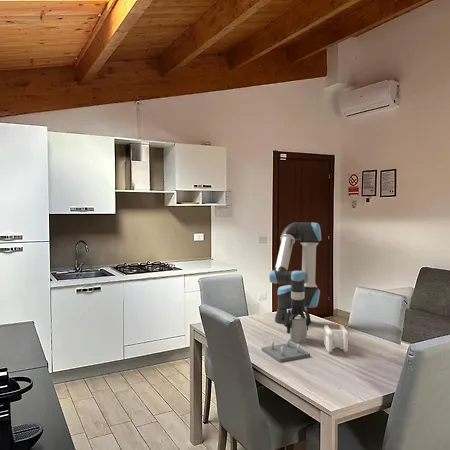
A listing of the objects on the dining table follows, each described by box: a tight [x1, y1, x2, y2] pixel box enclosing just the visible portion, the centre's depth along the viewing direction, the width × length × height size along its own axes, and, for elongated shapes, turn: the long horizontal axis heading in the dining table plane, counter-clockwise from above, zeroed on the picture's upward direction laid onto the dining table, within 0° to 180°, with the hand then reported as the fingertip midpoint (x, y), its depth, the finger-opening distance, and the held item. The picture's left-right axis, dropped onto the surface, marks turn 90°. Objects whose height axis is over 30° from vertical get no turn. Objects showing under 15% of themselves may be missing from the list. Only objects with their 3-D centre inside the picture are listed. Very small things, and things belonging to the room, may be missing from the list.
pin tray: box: [261, 338, 311, 363], centre depth 223 cm, size 18×18×6 cm
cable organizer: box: [323, 324, 349, 353], centre depth 229 cm, size 15×11×12 cm
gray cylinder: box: [290, 315, 307, 343], centre depth 245 cm, size 10×10×12 cm
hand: (297, 337), depth 245 cm, fingers closed on gray cylinder, 9 cm apart
